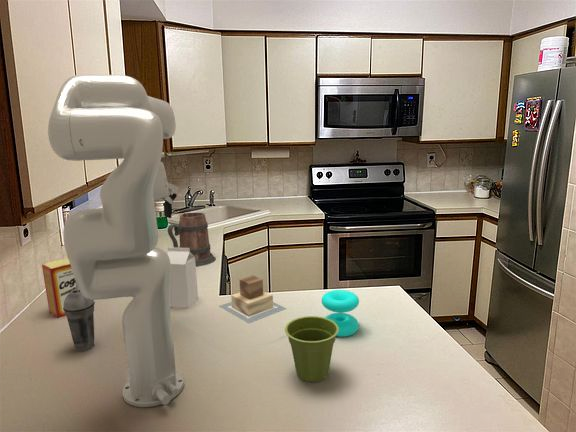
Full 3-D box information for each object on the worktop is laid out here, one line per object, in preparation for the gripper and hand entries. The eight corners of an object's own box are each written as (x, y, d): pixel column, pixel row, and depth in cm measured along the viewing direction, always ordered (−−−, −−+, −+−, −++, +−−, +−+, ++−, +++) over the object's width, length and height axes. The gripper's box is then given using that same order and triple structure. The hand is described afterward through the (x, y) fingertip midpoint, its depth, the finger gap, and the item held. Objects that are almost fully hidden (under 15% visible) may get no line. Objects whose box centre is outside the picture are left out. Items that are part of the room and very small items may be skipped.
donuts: (366, 295, 112) (341, 306, 106) (366, 330, 114) (341, 342, 108) (339, 285, 120) (313, 295, 114) (339, 318, 122) (314, 329, 116)
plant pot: (275, 374, 95) (273, 328, 93) (310, 354, 103) (310, 311, 101) (314, 397, 87) (313, 347, 84) (349, 373, 95) (349, 327, 92)
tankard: (198, 252, 190) (194, 208, 186) (224, 258, 180) (221, 212, 176) (153, 266, 172) (148, 218, 168) (180, 274, 162) (175, 224, 158)
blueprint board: (286, 311, 127) (286, 308, 127) (248, 325, 119) (248, 322, 118) (255, 295, 139) (255, 293, 139) (219, 308, 130) (218, 305, 130)
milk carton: (189, 310, 129) (184, 251, 125) (167, 309, 131) (162, 250, 127) (198, 301, 136) (194, 244, 132) (178, 300, 138) (173, 244, 134)
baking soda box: (80, 302, 138) (73, 255, 135) (89, 307, 134) (82, 259, 130) (49, 312, 131) (41, 263, 128) (57, 318, 127) (50, 267, 123)
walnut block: (263, 295, 128) (262, 279, 127) (249, 299, 125) (249, 283, 123) (253, 290, 131) (252, 275, 130) (240, 294, 128) (239, 279, 127)
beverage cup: (66, 356, 105) (54, 280, 101) (72, 342, 112) (62, 271, 108) (97, 351, 107) (87, 277, 103) (102, 338, 114) (92, 267, 110)
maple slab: (273, 307, 128) (272, 295, 127) (248, 316, 123) (248, 303, 122) (255, 298, 135) (255, 287, 134) (231, 307, 129) (231, 294, 128)
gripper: (169, 155, 121) (174, 213, 125) (107, 159, 110) (115, 223, 114) (181, 156, 115) (186, 217, 119) (117, 161, 105) (125, 227, 108)
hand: (151, 220), depth 116 cm, fingers open, 9 cm apart
